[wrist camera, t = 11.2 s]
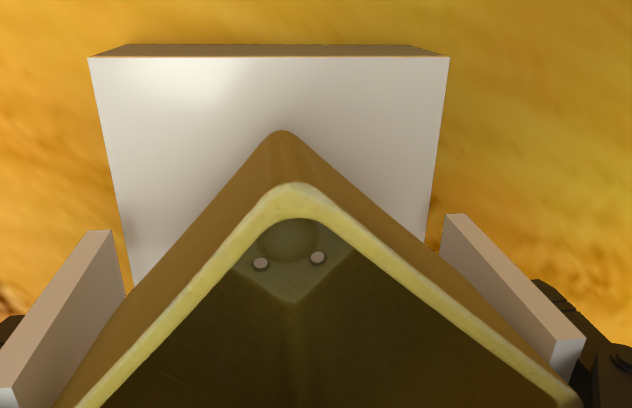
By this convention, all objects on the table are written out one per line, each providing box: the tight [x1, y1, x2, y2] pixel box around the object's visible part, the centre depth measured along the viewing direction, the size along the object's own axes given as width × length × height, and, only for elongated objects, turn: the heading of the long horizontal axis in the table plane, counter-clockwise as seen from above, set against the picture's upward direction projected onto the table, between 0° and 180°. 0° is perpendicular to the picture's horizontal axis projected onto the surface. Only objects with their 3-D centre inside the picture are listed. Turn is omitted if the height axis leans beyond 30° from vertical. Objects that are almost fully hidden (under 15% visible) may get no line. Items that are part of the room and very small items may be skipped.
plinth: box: [87, 44, 450, 287], centre depth 20 cm, size 13×13×5 cm
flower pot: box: [52, 130, 584, 408], centre depth 13 cm, size 9×9×9 cm
